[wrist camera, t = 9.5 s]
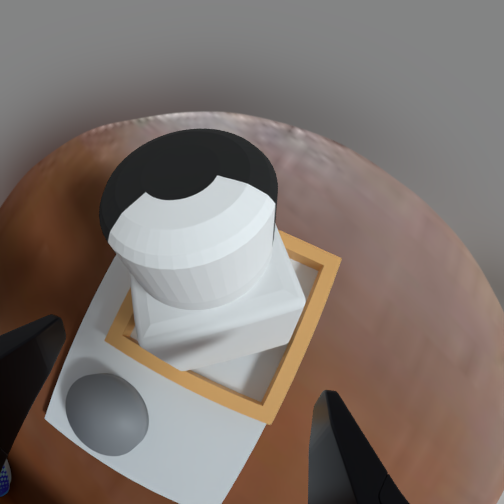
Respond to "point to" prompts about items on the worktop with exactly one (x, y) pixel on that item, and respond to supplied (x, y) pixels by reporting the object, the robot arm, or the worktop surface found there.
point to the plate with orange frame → (177, 391)
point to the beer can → (5, 479)
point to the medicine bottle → (202, 248)
